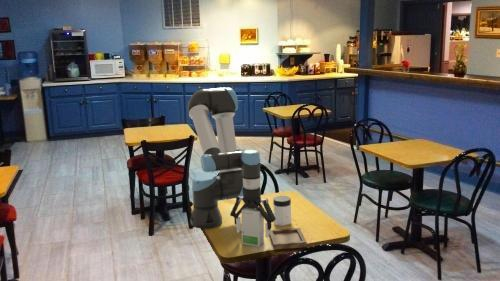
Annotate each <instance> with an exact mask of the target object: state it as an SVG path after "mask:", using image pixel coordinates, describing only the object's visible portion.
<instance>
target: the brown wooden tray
mask: <svg viewBox="0 0 500 281" xmlns="http://www.w3.org/2000/svg"><path fill="white" fill-rule="evenodd" d="M268 237H269V239H270V242H271V245H272V248H273V250H282V249H296V248H297V249H298V248H307V247H308V242H307V240H306V238H305V236H304V234H303V232H302V230H301V227H291V228H290V227H289V228H277V229H276V228H275V229H270V235H269V236H268Z"/></svg>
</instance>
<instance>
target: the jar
mask: <svg viewBox="0 0 500 281" xmlns="http://www.w3.org/2000/svg"><path fill="white" fill-rule="evenodd" d="M272 201H273V203H272V204H273V205H272V206H273V207H272V208H273V210H272V212H273V214H274V216H275V218H276V220H275V221H274V222H273V223H274V226H275V225H276V226H281V227H284V226H287V225H291V224H292V205H291V204H292V203H291V202H292V201H291V197H289V196H287V195H278V196H275V197H273V200H272Z"/></svg>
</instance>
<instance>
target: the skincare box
mask: <svg viewBox="0 0 500 281" xmlns="http://www.w3.org/2000/svg"><path fill="white" fill-rule="evenodd" d="M263 209H264V210H265V208H264V207H263ZM264 225H265V219H264V217H263V216H262V215H261V214H260V211H258V210H257V209H256V208H255V209H252V208H248V207H246V208H244V209H242V212H241V244H242V245H247V246H253V247H257V248H258V247H260V246H261V245H262V243H263V242H264V238H265V236H264V235H265V234H264V233H265V230H264V227H265V226H264Z"/></svg>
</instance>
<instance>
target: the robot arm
mask: <svg viewBox="0 0 500 281" xmlns="http://www.w3.org/2000/svg"><path fill="white" fill-rule="evenodd" d="M238 108H239V99H238V95H237V94H236V92H235V90H234V88H232V87H216V88H215V87H213V88H202V89H199V90H198V89H197V91H195V92H194V93H193V94H192V95H191V97H190V98H189V100H188V102H187V114H188V116H189V118H190V119H191V120H192V122H193V125H194V129H195V132H196V134H197V138H198V140H199V145H200V147H201V151H202V153H203V154H202V155H201V157H200V165H201V169H202V171H203V172H205V173H201V174H199V175H196V176H195V177H194V178H193V179H192V182H191V190H192V205H193V206H192V211H191V212H192V213H191V216H190V226H192V227H194V228H195V229H202V230H203V229H213V228H216V227H219V226H220V225H221V224H223V216H222V214H221V211H220V209H219V204H218V203H219V202H218V201H225V200H230V199H231V200H232V199H235V203H234V205H233V207H232V209H231V211H230V214H229V215H230V217H232V218H233V219H234V220H233V221H234V225H235V227H236V233H240V232H242V218H241V216H240V215H242V209H244V208H246V207H248V208H252V209H255V208H256V209H257V210H258V211H260V214H261V215H262V216H263V217H264V221H266V222H264V225H265V226H264V227H265V230H264V233H265V238H269V237H270V236H269V235H270V230H272V223H274V221H275V220H276V218H275V216H274V214H273V210H272V207H271V206H270V204H269V198H267V197H266V198H264V199H263V198H262V197H261V196H262V192H261V190H262V189H261V157H260V156H261V155H260V152H259V151H258V149H257V150H256V149H244V148H237V139H236V134H235V126H234V116H235V115H236V111H238ZM210 113H211V117H212V119H214V120H215V128H216V134H215V131H214V127H213V125H212V122H211V119H210V116H209V114H210ZM214 172H218V175H217V174H216V173H214ZM241 202H243V205H242V206H241V207H240V208H239V206H240V204H241ZM263 208H264V209H263ZM237 210H238V211H237Z"/></svg>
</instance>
